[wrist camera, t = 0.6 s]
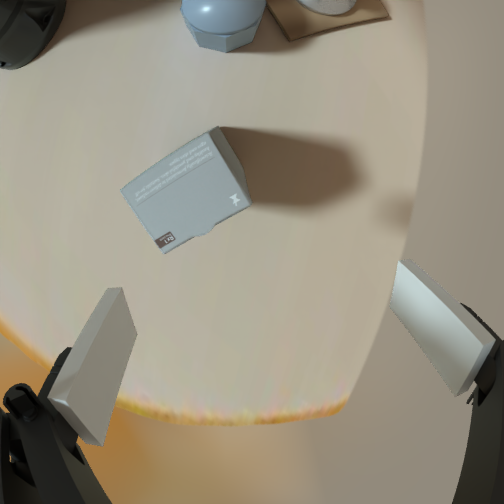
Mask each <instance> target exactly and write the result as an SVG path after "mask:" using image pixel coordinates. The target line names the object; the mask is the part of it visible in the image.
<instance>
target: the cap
mask: <svg viewBox="0 0 504 504" xmlns="http://www.w3.org/2000/svg"><path fill="white" fill-rule="evenodd" d="M266 3H267V2H266V0H182V6H181V8H180V10H181V13H182V15H183V18H184V20H185V23H186V25H187V27H188V29H189V31H190V32H191V34H192V35H193V37H194V39H195V40H196V42H197V44H198V45H199V47H204V48H208V49H213V50H217V51H221V52H225V53H227V52H229V51H232V50H234V49H236V48H238V47H241V46H243V45H246V44H248V43H251V42H252V41H253V38H254V36H255V33H256V31H257V29H258V26H259V24H260V21H261V18H262V15H263V12H264V9H265V6H266Z"/></svg>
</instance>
